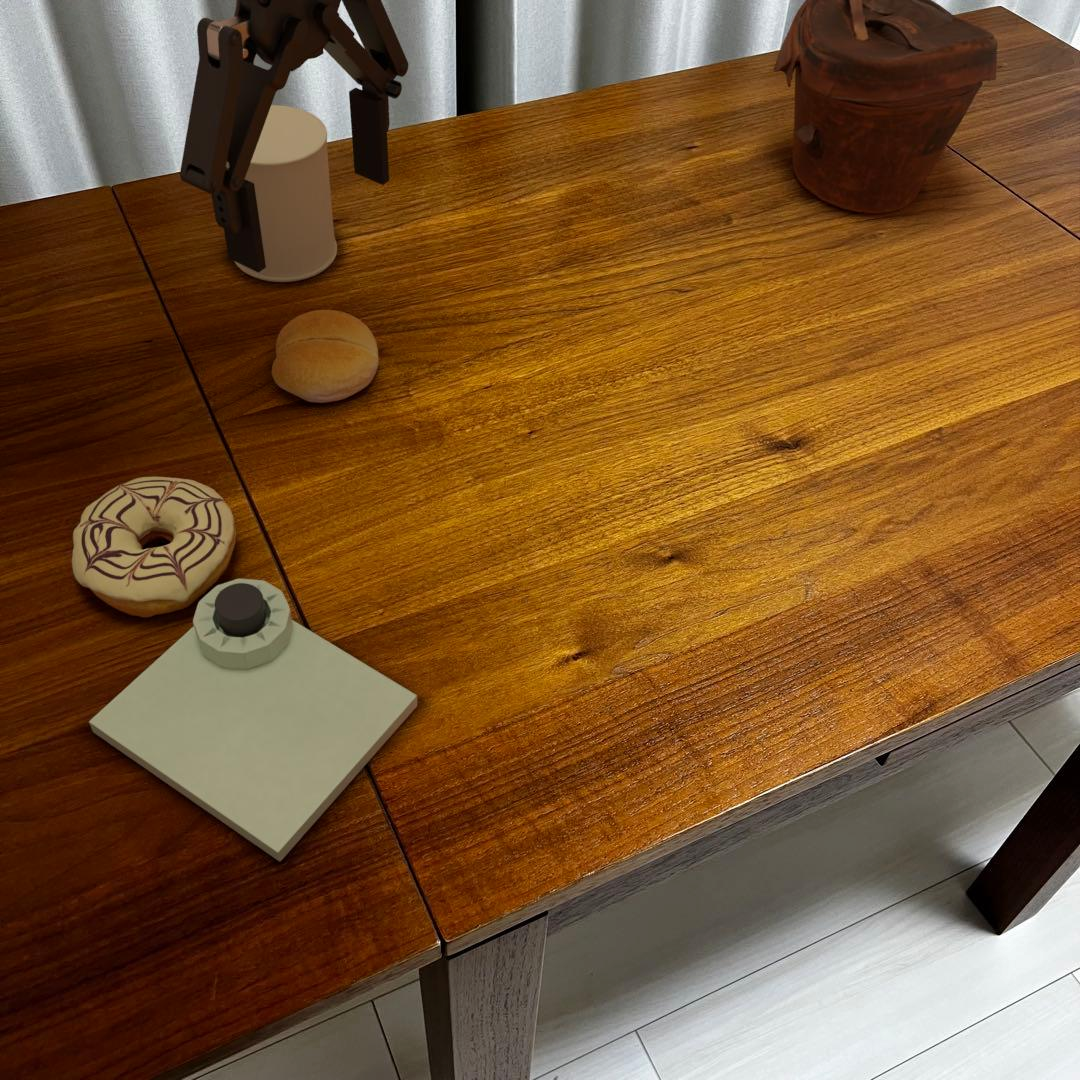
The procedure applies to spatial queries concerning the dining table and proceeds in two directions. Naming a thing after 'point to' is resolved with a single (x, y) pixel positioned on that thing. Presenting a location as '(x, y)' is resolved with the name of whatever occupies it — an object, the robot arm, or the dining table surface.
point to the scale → (256, 721)
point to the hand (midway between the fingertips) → (312, 218)
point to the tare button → (240, 609)
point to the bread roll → (325, 356)
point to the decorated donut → (162, 572)
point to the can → (292, 196)
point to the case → (879, 95)
